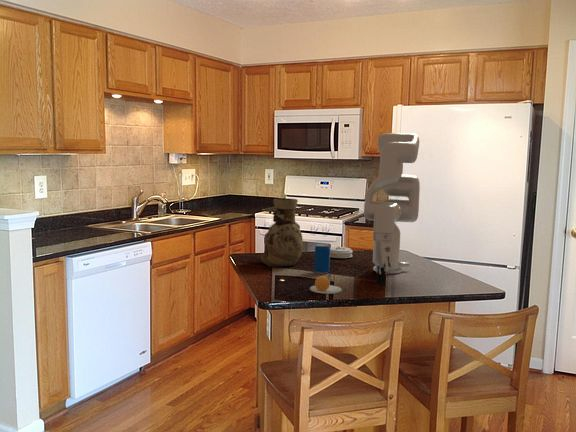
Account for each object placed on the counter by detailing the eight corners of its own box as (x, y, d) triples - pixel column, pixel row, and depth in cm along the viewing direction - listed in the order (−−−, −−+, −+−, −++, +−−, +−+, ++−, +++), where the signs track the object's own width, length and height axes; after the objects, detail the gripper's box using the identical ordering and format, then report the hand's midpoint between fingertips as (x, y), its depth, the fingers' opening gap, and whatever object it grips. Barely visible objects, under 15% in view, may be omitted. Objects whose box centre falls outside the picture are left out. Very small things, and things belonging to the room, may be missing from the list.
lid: (339, 253, 264) (339, 244, 264) (357, 258, 255) (358, 248, 254) (321, 256, 256) (321, 246, 256) (340, 261, 247) (340, 250, 246)
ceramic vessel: (255, 268, 226) (256, 200, 222) (264, 258, 246) (266, 196, 243) (298, 270, 223) (300, 202, 219) (304, 261, 244) (306, 197, 240)
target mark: (336, 284, 200) (336, 284, 200) (345, 293, 189) (345, 292, 189) (306, 285, 198) (306, 285, 198) (314, 294, 186) (314, 293, 186)
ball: (312, 275, 192) (312, 289, 193) (318, 278, 187) (318, 293, 188) (325, 273, 194) (326, 287, 195) (331, 277, 189) (332, 291, 190)
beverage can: (328, 274, 217) (329, 246, 216) (313, 273, 218) (314, 245, 217) (330, 271, 223) (331, 244, 222) (315, 270, 225) (316, 243, 223)
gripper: (400, 240, 189) (398, 288, 191) (384, 233, 203) (382, 278, 206) (381, 240, 187) (379, 289, 190) (366, 233, 202) (364, 279, 204)
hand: (380, 283), depth 198 cm, fingers closed
